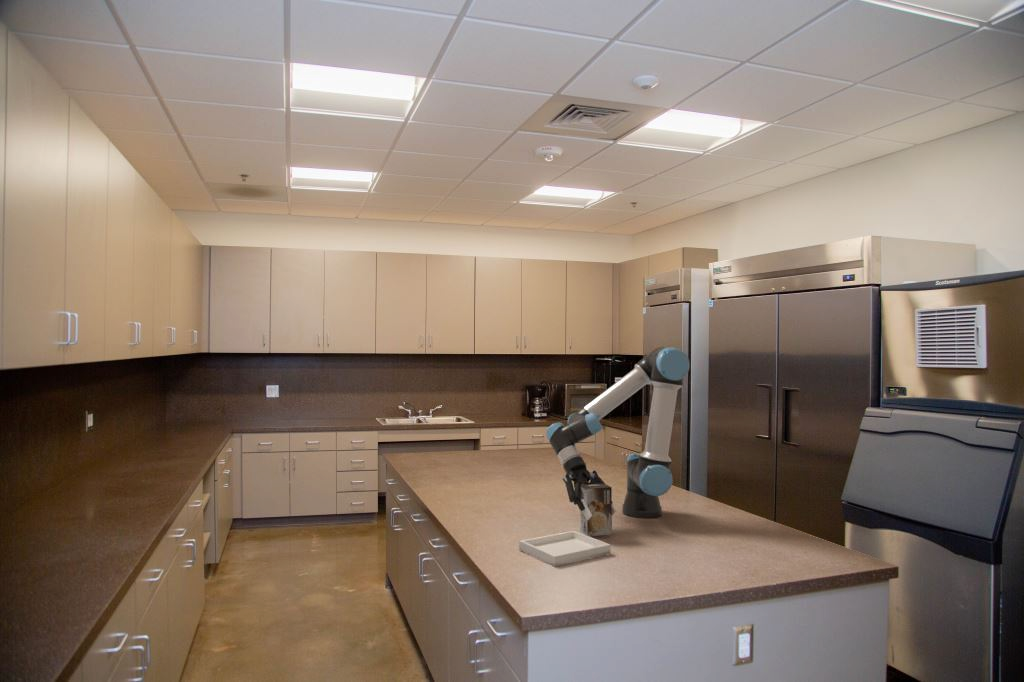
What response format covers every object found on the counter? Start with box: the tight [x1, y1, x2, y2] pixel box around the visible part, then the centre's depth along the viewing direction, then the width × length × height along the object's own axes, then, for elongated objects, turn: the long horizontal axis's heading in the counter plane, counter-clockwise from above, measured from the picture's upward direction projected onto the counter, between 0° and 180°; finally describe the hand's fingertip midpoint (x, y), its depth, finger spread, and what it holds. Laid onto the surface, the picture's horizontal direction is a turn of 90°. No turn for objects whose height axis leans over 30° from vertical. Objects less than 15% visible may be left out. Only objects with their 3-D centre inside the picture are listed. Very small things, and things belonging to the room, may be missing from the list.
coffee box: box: [580, 483, 613, 537], centre depth 222 cm, size 9×6×16 cm
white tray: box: [518, 530, 612, 568], centre depth 205 cm, size 18×22×3 cm
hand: (601, 515), depth 220 cm, fingers closed on coffee box, 10 cm apart
